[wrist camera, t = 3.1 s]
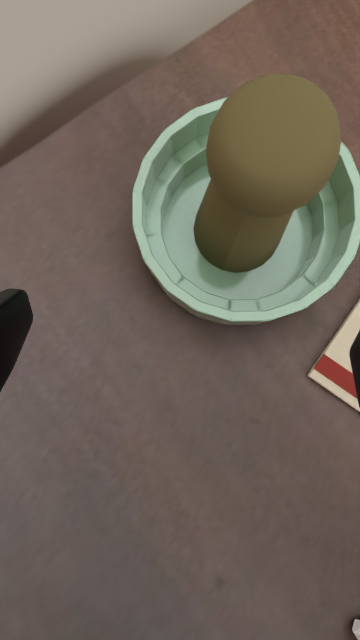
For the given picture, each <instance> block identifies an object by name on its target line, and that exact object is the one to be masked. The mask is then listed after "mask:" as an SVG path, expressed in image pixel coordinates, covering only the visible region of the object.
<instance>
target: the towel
mask: <svg viewBox="0 0 360 640" xmlns="http://www.w3.org/2000/svg"><path fill="white" fill-rule="evenodd" d="M359 330H360V298H359V300H358V301H357V303H356V304H355V306H354V307H353V309H352V310H351V311H350V313H349V314H348V316H347V317H346V319H345V320H344V322H343V323H342V325H341V326H340V328H339V329H338V330H337V332H336V333H335V335H334V336H333V338H332V339H331V341H330V342H329V344H328V345H327V346H326V348H325V349H324V351H323V352H322V354H321V355H320V357H319V358H318V360H317V361H316V363H315V364H314V365H313V367H312V368H311V370H310V371H309V373H308V374H307V376H308V377H310V378H311V379H312V380H314V381H315V382H317V383H318V384H320V385H321V386H322V387H324V388H325V389H327V390H328V391H330V392H331V393H332V394H334V395H335V396H337V397H338V398H340V399H341V400H343V401H344V402H345V403H347V404H348V405H350V406H351V407H353V408H354V409H355V410H357V411H358V412H360V408H359V403H358V399H357V394H356V389H355V383H354V378H353V373H352V367H351V362H350V356H349V352H350V348H351V345H352V343H353V342H354V340H355V338H356V336H357V334H358V332H359Z"/></svg>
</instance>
